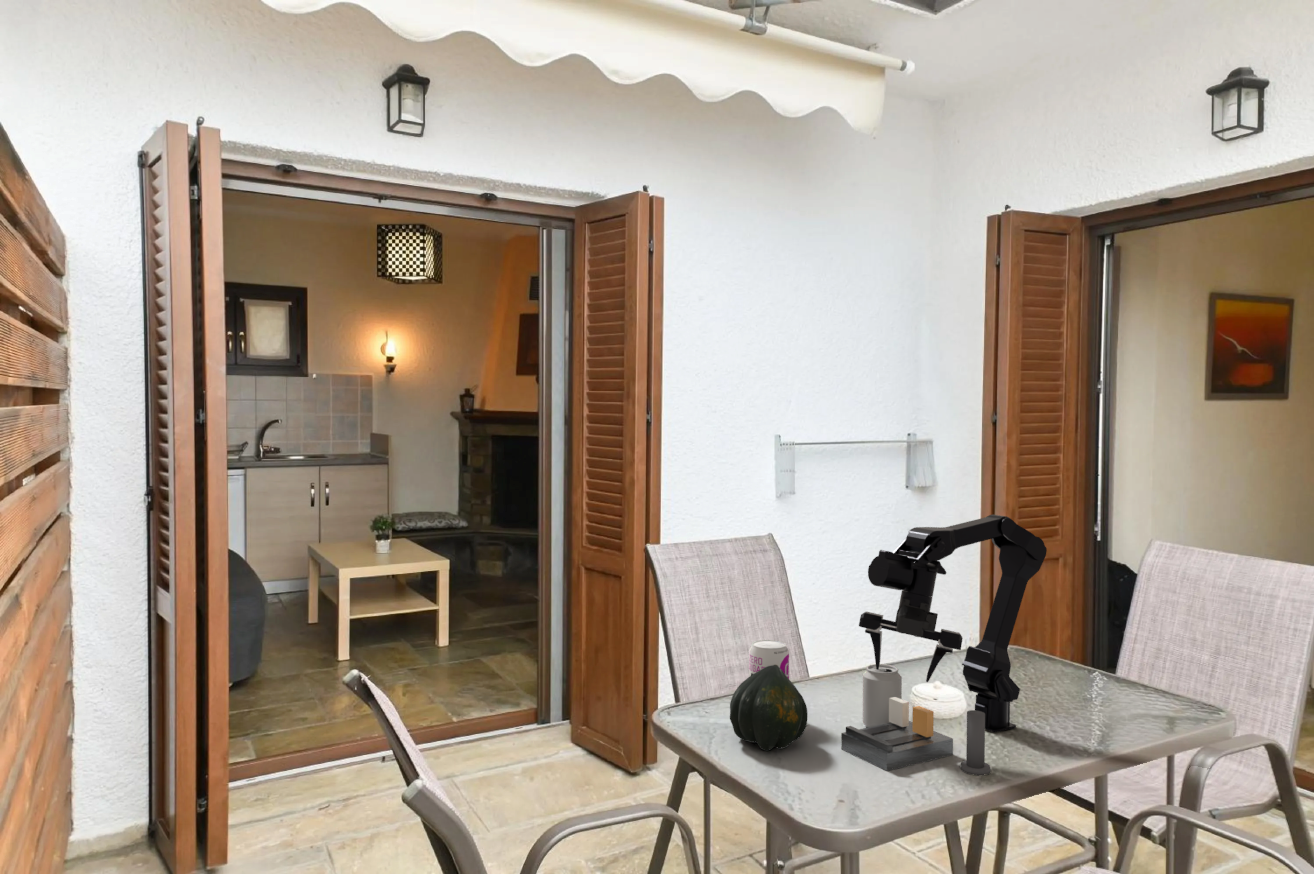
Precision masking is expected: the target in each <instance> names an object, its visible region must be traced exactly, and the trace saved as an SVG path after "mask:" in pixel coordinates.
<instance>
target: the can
mask: <svg viewBox="0 0 1314 874" xmlns="http://www.w3.org/2000/svg"><path fill="white" fill-rule="evenodd" d="M902 679H903V676H901V674H900V673H899V668H898V667H896V666H894V665H890V664H885V663H884V664H883V663H882V664H881V663H880V665H879V669H878V670H877V669H876V663H875V664H869V665H867V666H866V671H865V672H863V674H862V723H863V724H864V726H865V727H866V728H868V727H872V726H877V725H882V724H887V723H891V722H889V698H892V697H897V698H899V699H902V696H903V695H902V692H903V691H902V690H903V689H902V681H903V680H902ZM902 700H903V699H902Z"/></svg>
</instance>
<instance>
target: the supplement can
mask: <svg viewBox="0 0 1314 874" xmlns="http://www.w3.org/2000/svg"><path fill="white" fill-rule="evenodd" d="M748 651H749V652H748V677H750V676H751V675H753V674H754V673H756V672H758V671H760V670H761V669H763V668H765V667H767V666H772V665H778V667H779V668H780V669H781V670H782V671H783V672H784V674H785V675H786V676H787V677H788V679H789V680H790V651H789V648H788V647H787V643H785V642H783V641H779V640H775V639H762V640H761V639H760V640H755V641H753V642H752V643H751V646H750V648H749V650H748Z"/></svg>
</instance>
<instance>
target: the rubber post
mask: <svg viewBox="0 0 1314 874" xmlns="http://www.w3.org/2000/svg"><path fill="white" fill-rule="evenodd" d="M985 747H986V729H985V713H984V712H981V711H976V710H975V709H973V710H968V711H966V755H965V757H966V759H965V760H963V761H961V762H960V764H959V765H960V766H959V767H960V768H959V769H960V770H961V771H962V772H963V773H965V774H969V775H971V774H974V775H973V776H979V775H982V776H985V775H984V774H988V775H990V774H991V773H990V772H992V771H991V769H992V767H991V765H990V764H989V763H986V761H985V760H986V757H985V756H986V753H985V752H986V748H985ZM989 773H990V774H989Z"/></svg>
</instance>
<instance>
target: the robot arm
mask: <svg viewBox="0 0 1314 874" xmlns="http://www.w3.org/2000/svg"><path fill="white" fill-rule="evenodd" d="M988 540H991V542H992V543H993V545H994V546H995V547H997V549H999V555H998V562H999V566H1000V569H1001V576H1000V580H999V583H998V586H997V590H996V592H995V597H994V600H993V603H992V605H991V609H990V613H989V616H988V618H987V623H986V626H985V628H984V632H983V636H982V639H981V641H980V642H979V643H978V644H977V645H976V646H973V645H972V646H971V645H969V646H968V647H967V649H966V653H965V657H964V660H963V661H962V663H961V665H962V667H963V668H962V675H963V677H964V679H965V681H966V684H967V685H966V686H967V688H968V691H969V692H973V693H976V694H975V703H974V710H976V711H981V712H984V713H985V731H986V730H987V731H989V732H992V733H999V732H1003V731H1006V730H1011V729H1016V728H1017V724H1014V723H1012V722H1011V721H1010V720H1011V703H1014V702H1013V701H1015V700H1018V698H1019V694H1020V692H1021V688H1020V687H1019V686H1018V685H1017V684H1016V682H1015V681H1014V680H1013V679H1012V678H1011V677H1010V674H1011V669H1012V665H1011V661H1010V656H1009V652H1008V650H1009V649H1008V648H1009V645H1010V642H1011V638H1012V635H1013V631H1014V628H1015V624H1016V621H1017V618H1018V615H1019V611H1020V608H1021V604H1022V601H1023V599H1024V598H1023V597H1024V596H1025V591H1026V589H1027V584H1028V581H1030V579H1032V578H1033V577H1034V576H1035V575H1036V574H1037V573H1039V571H1040V570H1041V567H1042V565H1043V563H1044V560H1045V558H1046V555H1047V552H1048V551H1047V546H1046V545H1045V543H1044V540H1043V539H1042V538H1041V537H1039V536H1036V535H1035V534H1034V533H1032V532H1030V531H1029V530H1027V529H1025V528H1024V527H1023V526H1021V525H1019V524H1017V523H1016V522H1015V521H1014V520H1013V519H1012V518H1011V517H1009V516H1006V515H998V514H989V515H987V516H986V517H982V518H978V519H973V520H969V521H965V522H962V523H961V522H960V523H957V524H952V525H950V526H945V527H943V526H942V527H937V526H936V527H935V526H919V527H918V526H917V527H916V526H915V527H913V528H911V529H909V530H908V533H907V535H906V537H905V538H904V539H903V541H901V543H900V544H899V545H898V546H897V547H896V548H895V549H894V550H893V551H889V550H883V549H879V551H878V556H875V557H874V558H873V559H872V561H871V562H870V564H869V566H868V568H867V576H868V577H867V578H868V580H869V582H870V583H871V585H873V586H875V587H880V588H885V589H890V590H896V591H901V594H900V598H899V599H900V600H899V605H898V609H897V610H896V615H895V621H893V620H890V619H884V615H883V614H881V613H875V612H870V611H865V612H863V613H861V614H860V617H859V622H858V627H861V628H864V629H865V630H864V632H865V634H868V635H870V638H871V642H872V646H873V653H874V654H873V655H874V660H875V664H876V669H877V670H878V669H879V665H880V664H881V658H882V657H881V656H882V654H881V653H882V640H883V631H882V629H884V630H888V631H893V632H895V633H896V632H897V633H900V634H904V635H909V636H913V637H917V638H923V639H926V640H930V641H935V642H937V644H936V645H935V649H934V651H933V655H932V658H931V661H930V664H929V667H928V669H927V675H926V679H925V682H926V683H928V682H929V681H930V680H931V678H932V676H933V674H934V672H935V670H936V668H937V666H938V665H939V663H940V662H941V660H942V659H943V658H944V657H945V655H946V654H947V653H950V654H953V652H954V650H958V651H961V650H962V644H963V636H962V634H961V633H960V632H958V631H955V630H954V631H953V630H949V629H944V628H941V630H940V631H938V630H937V631H936V626H937V621H938V615H939V614H938V613H935V612H931V609H932V608H931V607H932V601H933V596H934V590H935V585H936V580H937V576H938V574H939V575H944V576H945V575H946V574H947V570H946V569H945V567H943V565H942V564H941V563H942V562H941V560H943V559H946V558H947V557H949V556H951V555H952V554H953V553H954V552H955V550H956V549H958V548H962V547H965V546H969V545H972V544H973V545H974V544H977V543H981V542H984V541H988Z"/></svg>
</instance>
